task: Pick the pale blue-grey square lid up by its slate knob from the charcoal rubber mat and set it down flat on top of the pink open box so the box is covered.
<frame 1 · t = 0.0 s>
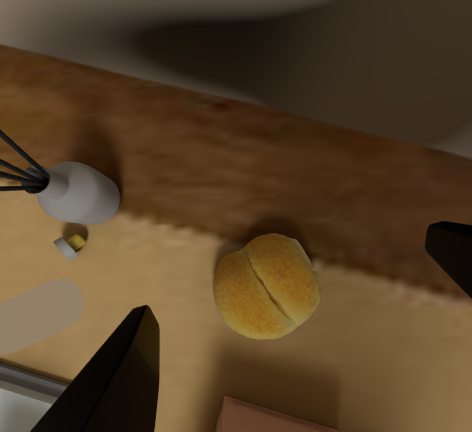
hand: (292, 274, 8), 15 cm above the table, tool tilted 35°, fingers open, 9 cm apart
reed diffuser: (107, 210, 23), on the table
bread roll: (265, 281, 23), on the table
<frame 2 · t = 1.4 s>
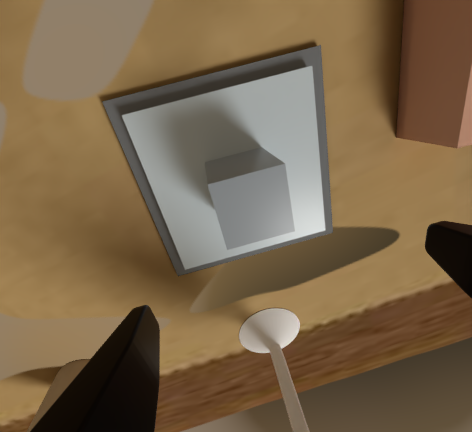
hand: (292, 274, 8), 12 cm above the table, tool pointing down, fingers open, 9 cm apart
champagne flute: (269, 330, 26), on the table
candle: (88, 374, 25), on the table
lid: (238, 178, 18), resting on mat
mat: (237, 177, 19), on the table
pink open box: (468, 46, 17), on the table
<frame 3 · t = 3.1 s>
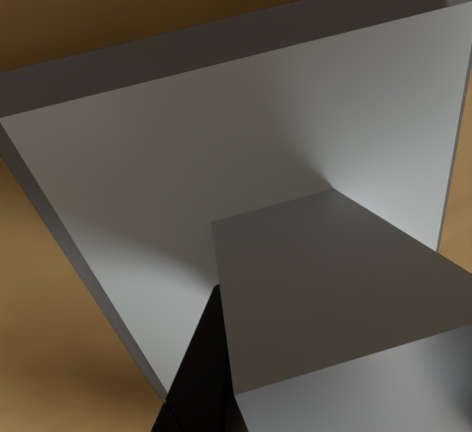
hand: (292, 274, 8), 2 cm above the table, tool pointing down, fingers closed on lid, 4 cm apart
lid: (275, 244, 9), resting on mat, touching gripper
mat: (272, 239, 10), on the table
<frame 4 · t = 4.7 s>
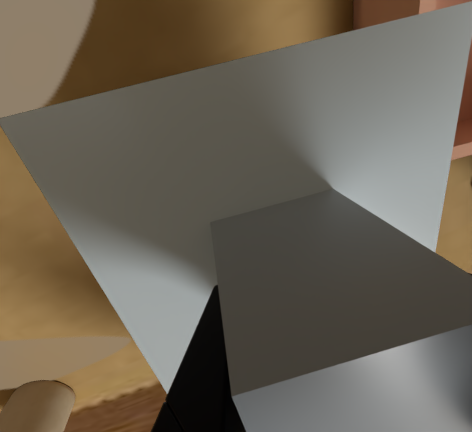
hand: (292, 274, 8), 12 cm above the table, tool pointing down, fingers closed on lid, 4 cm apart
candle: (46, 395, 24), on the table
lid: (274, 244, 9), point 10 cm above the table, touching gripper
pink open box: (420, 67, 17), on the table
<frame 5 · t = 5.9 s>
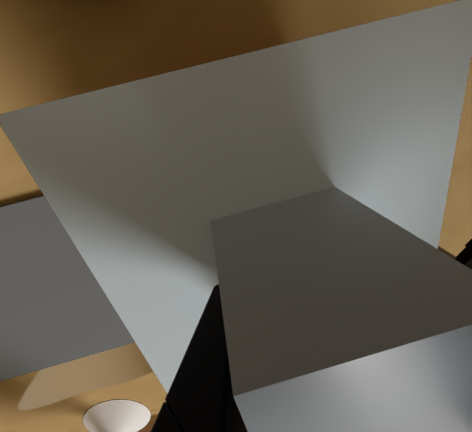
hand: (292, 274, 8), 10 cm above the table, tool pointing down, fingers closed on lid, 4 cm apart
champagne flute: (118, 416, 26), on the table
lid: (275, 243, 9), point 9 cm above the table, touching gripper
mat: (22, 299, 18), on the table
when the fingers open (8 cm above the table, at t = 6.5 s): lid drops 2 cm, resting on pink open box.
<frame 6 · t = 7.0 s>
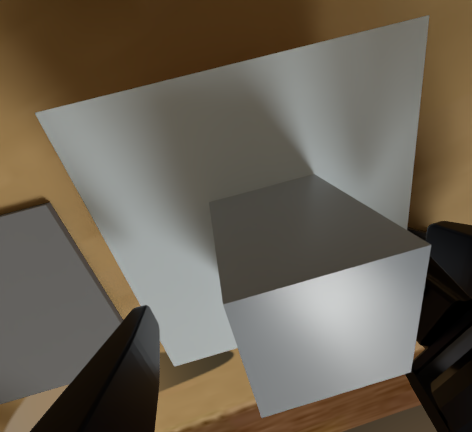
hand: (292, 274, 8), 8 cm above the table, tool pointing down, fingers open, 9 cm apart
lid: (265, 224, 11), point 5 cm above the table, touching pink open box
mat: (4, 322, 16), on the table
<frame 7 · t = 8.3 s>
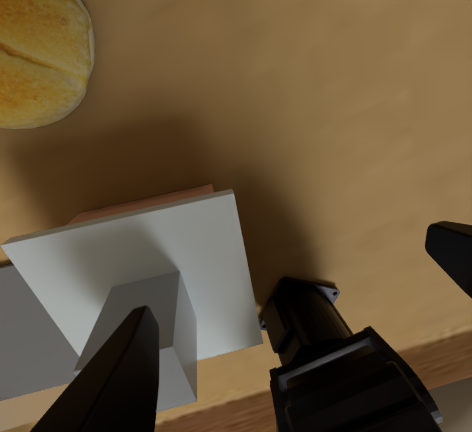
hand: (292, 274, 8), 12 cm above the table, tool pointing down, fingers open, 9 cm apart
lid: (158, 294, 16), point 5 cm above the table, touching pink open box
pink open box: (166, 253, 20), on the table
bread roll: (17, 41, 14), on the table
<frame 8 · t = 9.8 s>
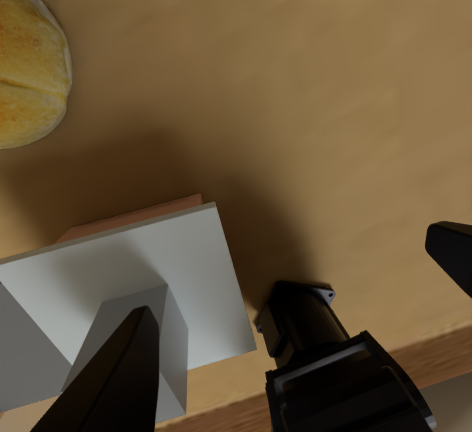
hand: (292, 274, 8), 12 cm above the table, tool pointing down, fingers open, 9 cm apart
lid: (150, 306, 16), point 5 cm above the table, touching pink open box
pink open box: (159, 262, 21), on the table
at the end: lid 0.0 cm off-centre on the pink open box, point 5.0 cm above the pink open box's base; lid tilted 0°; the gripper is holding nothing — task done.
